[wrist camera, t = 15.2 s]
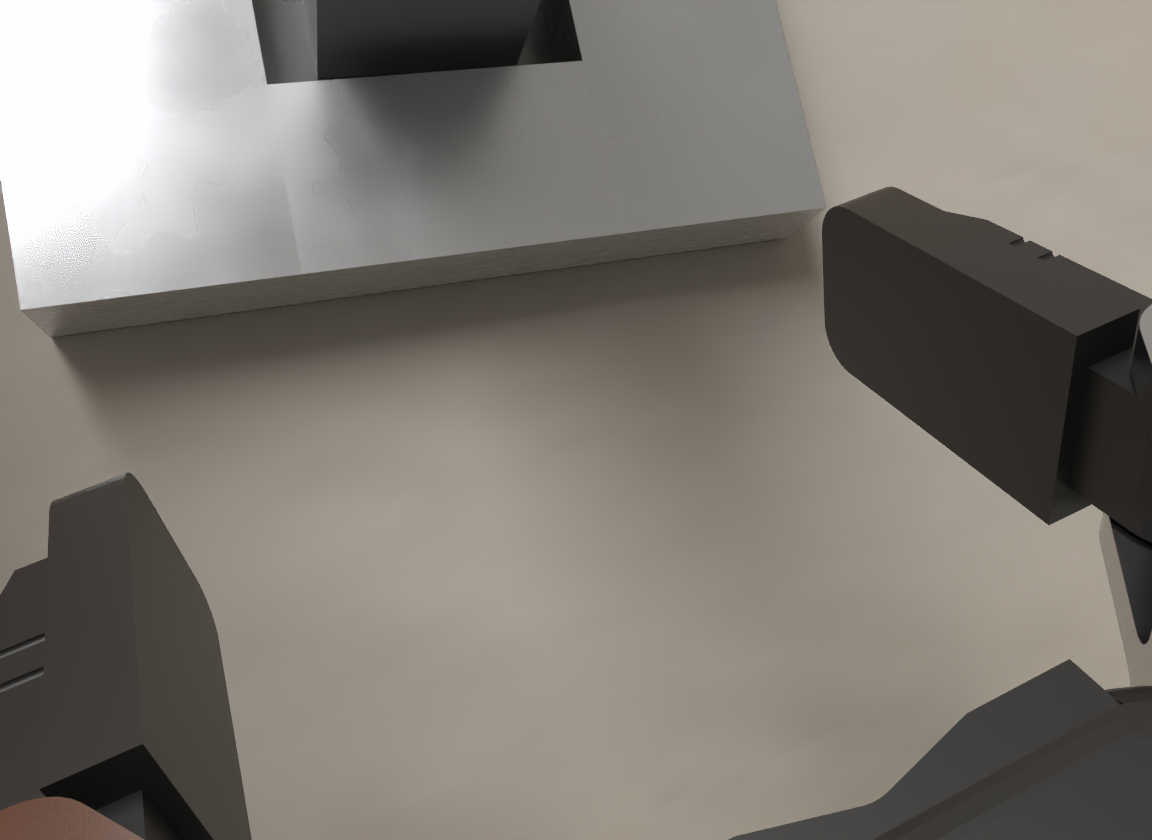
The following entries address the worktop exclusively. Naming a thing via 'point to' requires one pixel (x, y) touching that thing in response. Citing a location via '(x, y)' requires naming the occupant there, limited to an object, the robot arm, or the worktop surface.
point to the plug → (415, 34)
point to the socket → (377, 154)
